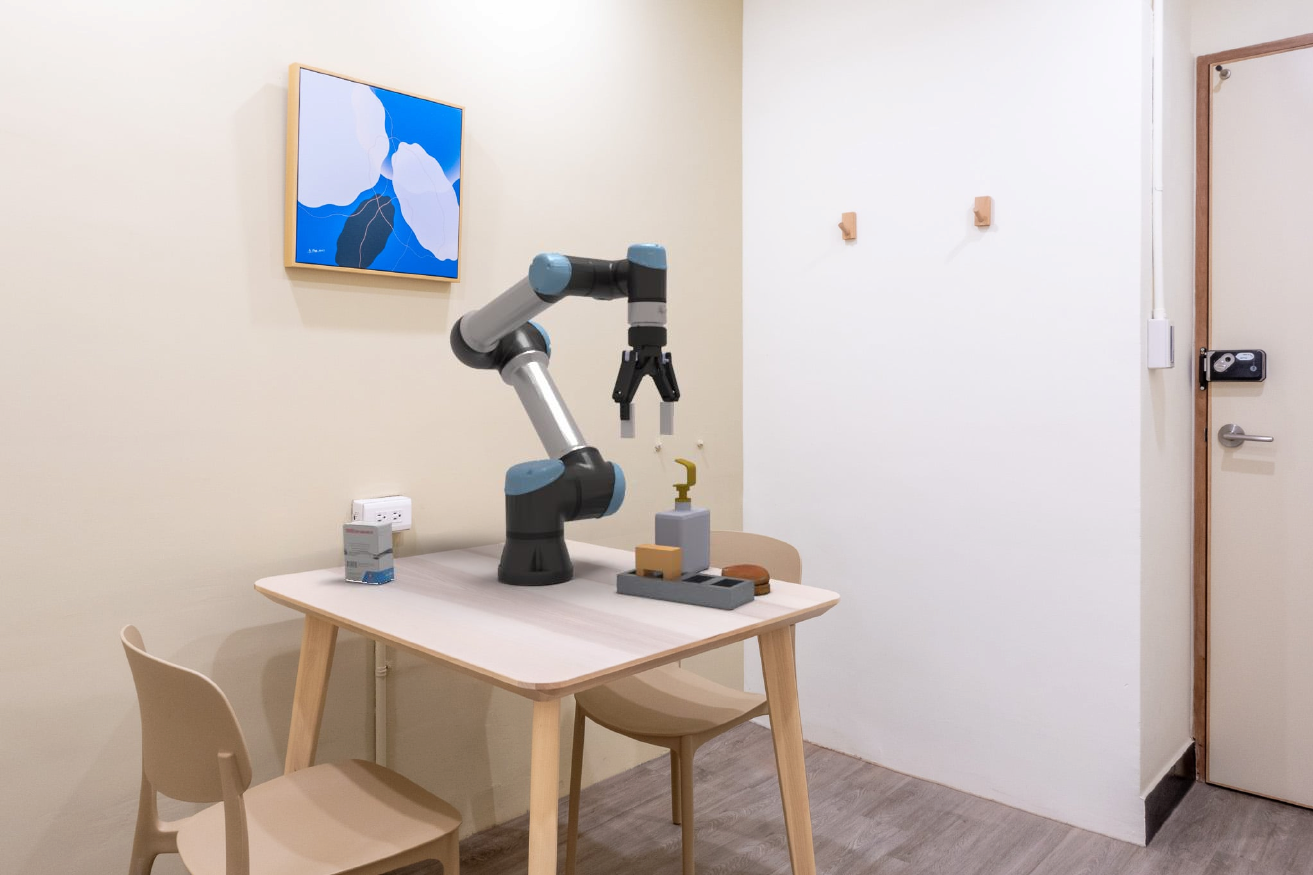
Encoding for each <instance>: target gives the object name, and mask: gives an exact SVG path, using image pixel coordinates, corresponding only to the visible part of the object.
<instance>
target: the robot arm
mask: <svg viewBox="0 0 1313 875" xmlns="http://www.w3.org/2000/svg"><path fill="white" fill-rule="evenodd" d="M528 267H529V268H528V275H526V276H524V277H523V278H522V279H520V280H519V281H518V282H516V283H515V284H514V285H512V286H511V287H509V288H508V289H506V290H505V291H504V292H502V293H501V294H499V295H498V296H496V297H495V298H494V299H492V300H491V301H489V302H488V303H486V305H484V306H482V307H481V308H480V309H473V310H469V311H467V312H466V313H465V314H464V315H462V316H460V318H459V319H457V320H456V321H455V323H454V324H453V326H452V328H451V330H450V334H449V335H450V336H449V344H450V349H451V350H452V353H453V355H454V356H455V357H456V358H457V360H458V361H460V363H461V364H464V365H465V366H467V367H469V368H471V369H475V370H484V371H485V370H486V371H487V370H488V371H489V370H492V371H493V370H494V371H497V372H498V373H499V375H500V377H501V378H500V379H501V380H502V381H503V382H504V383H505V384H506V385H508V386H510V387H513V389H514V390H515V392H516V394H517V396H518V398H519V401H520V402H521V404H522V406H523V408H524V410H525V412H526V414H527V416H528V419H529V420H530V422H531V424H532V427H533V428H534V431H535V432H536V433H537V436H538V437H539V438H538V439H539V440H540V442H541V444H542V446H543V448H544V450H545V452H546V454H547V455H548V456H547V457H548V458H549V459H547V458H545V459H539V460H537V459H536V460H530V461H524V462H521V463H518V464H514V465H512V466H511V467H509V468H508V469H507V471H506V473H505V481H504V482H505V483H504V488H503V490H504V496H505V497H504V499H505V543H504V546H503V550H502V553H501V556H500V561H499V564H498V565H497V580H498V581H499V582H502V583H504V584H509V585H517V586H541V585H542V586H543V585H544V586H545V585H552V584H558V583H563V582H566V581H569V580H571V579H572V578H574V564H573V562H572V561H571V557H570V553H569V549H568V547H567V543H566V540H565V523H568V522H578V521H585V520H592V519H597V520H598V519H602V518H605V517H609V516H612V515H614V514H616V512H618V511H620V508H621V507H622V505H623V502H624V500H625V496H626V488H627V485H626V484H627V482H626V478H625V473H624V471H623V469H622V467H621V466H620V465H619V464H618V463H616V462H613V461H610V460H607V461H605V460H604V458H603V455H601V454H602V453H600V450H599V448H597V447H595V446H594V445H589V444H588V443H587V442H586V439H585V437H584V436H583V434H582V432H581V430H580V428H579V426H578V424H577V422H576V421H575V419H574V417H573V415H572V414H571V412H570V410H569V408H568V406H567V404H566V403H565V400H564V398H563V396H562V395H561V393H560V391H559V389H558V387H557V385H556V384H555V381H554V379H553V378H552V376H551V374H550V372H549V370H548V368H549V366H550V359H551V355H552V347H550V345H551V339H550V336H549V334H548V332H547V331H546V329H545V328H544V327H543V326H542V325H541V324H540V323H538V322H536V321H533V320H532V319H533V318H535V317H537V316H538V315H540V314H542V313H543V312H544V311H546V310H547V309H549V308H550V307H552V306H553V305H555V304H556V303H558V302H560V301H562V300H563V299H565V298H567V297H585V298H592V299H593V300H597V301H608V302H609V301H613V300H619V299H624V298H627V324H628V325H630V326H629V327H628V329H627V345H628V347H632V349H628V350H627V349H626V350H622V351H621V363H620V366H619V370H618V374H617V377H616V380H615V383H614V387H613V391H612V395H611V398H612V400H614V403H616V404H619V421H620V439H636V428H635V427H636V426H635V425H636V415H635V414H636V410H635V408H636V407H635V404H636V403H633V402H632V401H633V400H634V397H635V395H636V393H637V391H638V389H639V387H640V384H641V382H642V380H643V378H644V377H646V376H649V377H650V378H652V381H653V382H654V385H655V387H656V389H657V392H658V394H659V396H660V398H661V399H662V401H659V435H661V436H662V435H664V436H665V435H666V436H670V435H671V436H672V435H673V436H674V405H675V404H674V403H675V402H676V403H677V402H679V401H680V398H681V392H680V389H679V383H678V381H677V380H678V379H677V377H676V373H675V370H674V366H673V359H672V353H671V351H663V350H662V348H663V347H664V348H665V347H666V346H667V345H668V329H667V328H666V326H665V325H666V324H667V317H668V316H667V311H668V308H667V304H668V303H667V298H668V297H667V293H668V292H667V289H668V286H667V284H668V283H667V282H668V281H667V279H668V278H667V277H668V276H667V275H668V273H667V272H668V270H667V269H668V264H667V251H666V248H665V247H664V246H663V245H661V244H657V243H635V244H631V245H629V247H628V248H627V252H626V258H623V259H622V258H621V259H615V260H612V259H611V260H609V259H601V258H600V259H599V258H593V257H591V258H590V257H582V256H576V255H575V256H573V255H568V254H567V255H566V254H561V253H557V252H556V253H553V252H552V253H539V254H536V256H534V258H533V259H532V263H530V265H529V266H528Z"/></svg>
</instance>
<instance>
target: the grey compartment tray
mask: <svg viewBox="0 0 1313 875" xmlns="http://www.w3.org/2000/svg"><path fill="white" fill-rule="evenodd" d="M616 593H617V594H623V595H629V596H635V597H642V598H649V599H655V600H656V599H657V600H662V601H668V602H674V603H682V604H688V605H693V606H694V605H696V606H703V607H710V608H713V609H723V610H728V611H731V610H733V609H735V608H736V609H737V608H738V607H741V606H743V605H745V604H747V603H749V602H752V601H754V600H755V595H754V580H749V579H741V578H734V577H726V576H721V575H718V574H717V575H716V574H708V573H702V572H687V571H681V576H680V577H677V578H674V579H663V571H655V570H654V573H651V574H647V575H644V576H641V575H636V568H633V569H629V570H626V571H623V572H622V571H621V572H620V573H617V574H616Z"/></svg>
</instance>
